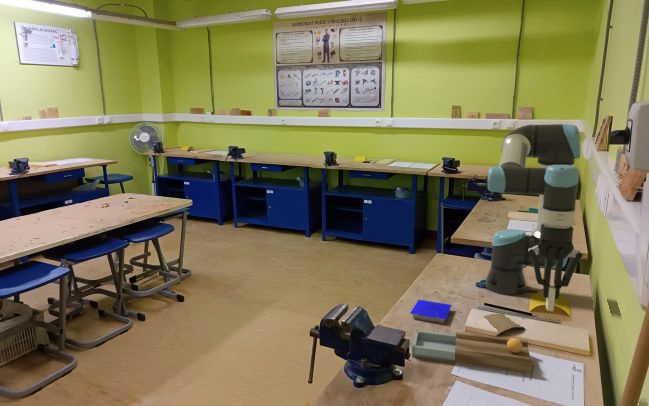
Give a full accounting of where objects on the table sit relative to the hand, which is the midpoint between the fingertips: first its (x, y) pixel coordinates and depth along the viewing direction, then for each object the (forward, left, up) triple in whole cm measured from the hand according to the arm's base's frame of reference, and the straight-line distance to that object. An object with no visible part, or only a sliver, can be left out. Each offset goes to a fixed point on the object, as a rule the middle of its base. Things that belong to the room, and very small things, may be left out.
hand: (549, 308), depth 119 cm
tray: (0, -30, -17) cm, 35 cm away
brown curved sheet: (-21, -10, -18) cm, 30 cm away
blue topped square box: (-24, -33, -18) cm, 44 cm away
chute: (0, -14, -17) cm, 22 cm away
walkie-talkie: (-87, -6, -18) cm, 89 cm away
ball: (0, -8, -12) cm, 15 cm away
